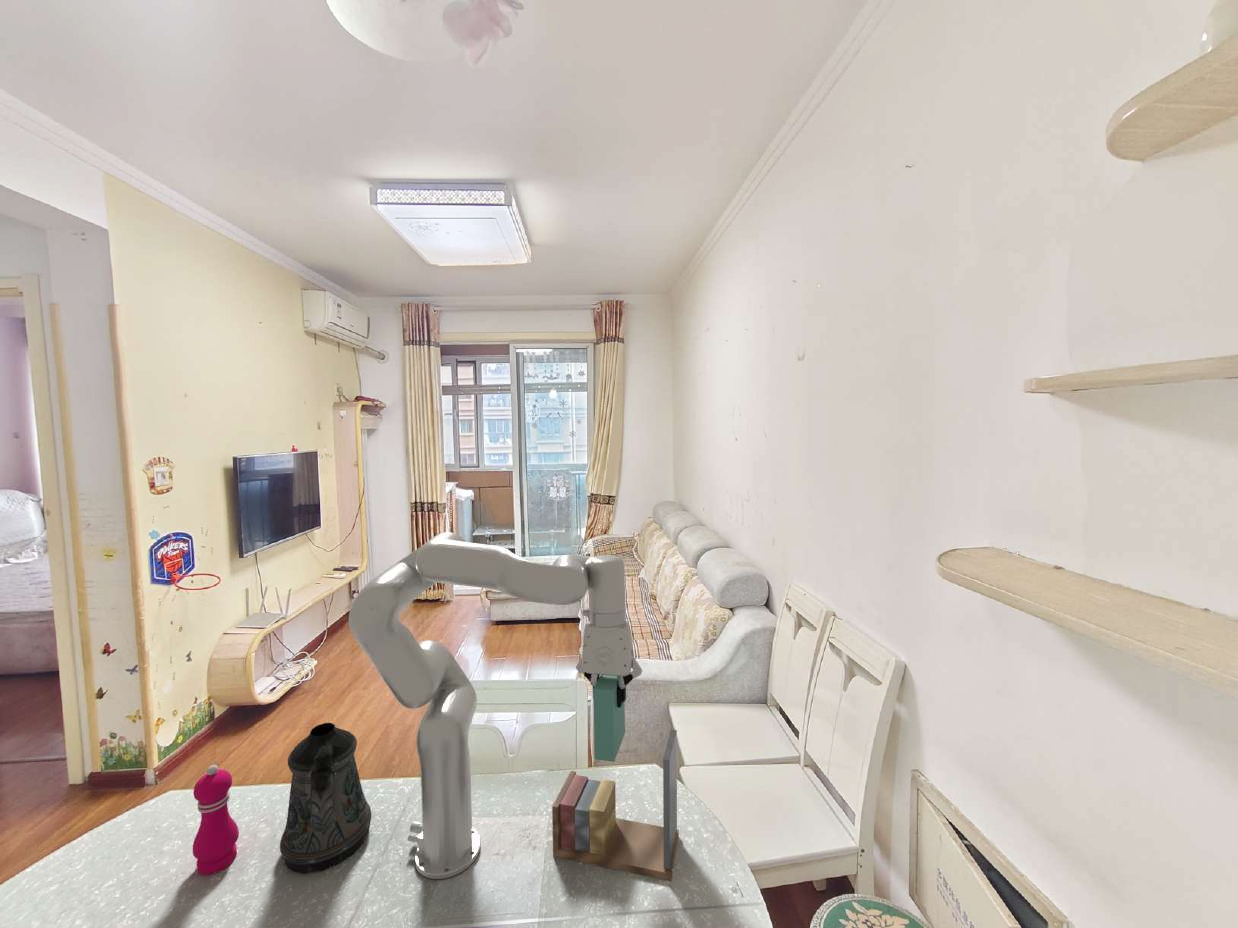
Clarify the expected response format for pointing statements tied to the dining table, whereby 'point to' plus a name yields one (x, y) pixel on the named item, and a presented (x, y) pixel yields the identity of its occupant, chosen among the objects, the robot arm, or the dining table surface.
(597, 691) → the loose book
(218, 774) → the pepper mill
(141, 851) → the dining table surface
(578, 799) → the book rack
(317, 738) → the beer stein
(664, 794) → the bookend
